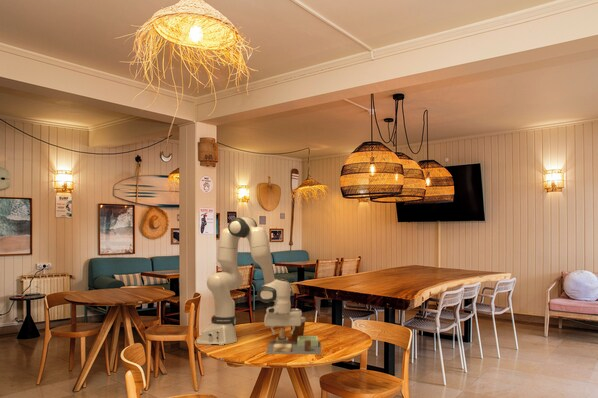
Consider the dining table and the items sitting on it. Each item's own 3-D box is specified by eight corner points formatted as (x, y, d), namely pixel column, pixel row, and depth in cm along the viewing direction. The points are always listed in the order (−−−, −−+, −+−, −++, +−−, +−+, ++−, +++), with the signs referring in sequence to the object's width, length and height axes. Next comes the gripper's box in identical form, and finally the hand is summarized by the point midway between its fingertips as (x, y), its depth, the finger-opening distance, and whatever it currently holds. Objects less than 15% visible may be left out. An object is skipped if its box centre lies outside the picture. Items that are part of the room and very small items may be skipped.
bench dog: (304, 351, 236) (304, 341, 237) (304, 349, 239) (304, 339, 240) (310, 351, 236) (310, 341, 236) (310, 349, 239) (310, 339, 240)
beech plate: (273, 351, 235) (273, 347, 235) (274, 348, 242) (274, 343, 242) (290, 352, 234) (290, 347, 235) (291, 348, 241) (291, 343, 242)
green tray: (297, 346, 245) (297, 340, 245) (297, 342, 255) (297, 335, 255) (318, 347, 245) (318, 340, 245) (317, 342, 255) (317, 335, 255)
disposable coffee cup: (304, 341, 261) (304, 319, 262) (287, 340, 263) (287, 318, 264) (307, 337, 270) (307, 316, 271) (291, 336, 272) (291, 315, 273)
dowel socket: (275, 345, 247) (275, 340, 247) (276, 342, 253) (276, 337, 254) (287, 345, 247) (287, 340, 247) (288, 343, 253) (288, 337, 253)
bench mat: (265, 355, 231) (265, 353, 231) (270, 342, 257) (270, 341, 257) (321, 355, 231) (321, 354, 231) (320, 343, 257) (320, 341, 257)
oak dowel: (279, 345, 249) (279, 328, 249) (279, 343, 252) (279, 327, 252) (284, 345, 249) (284, 328, 249) (284, 343, 252) (285, 327, 252)
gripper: (301, 307, 254) (302, 333, 253) (264, 307, 255) (265, 333, 254) (301, 309, 248) (301, 335, 247) (263, 309, 248) (263, 335, 247)
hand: (282, 334), depth 250 cm, fingers open, 8 cm apart
